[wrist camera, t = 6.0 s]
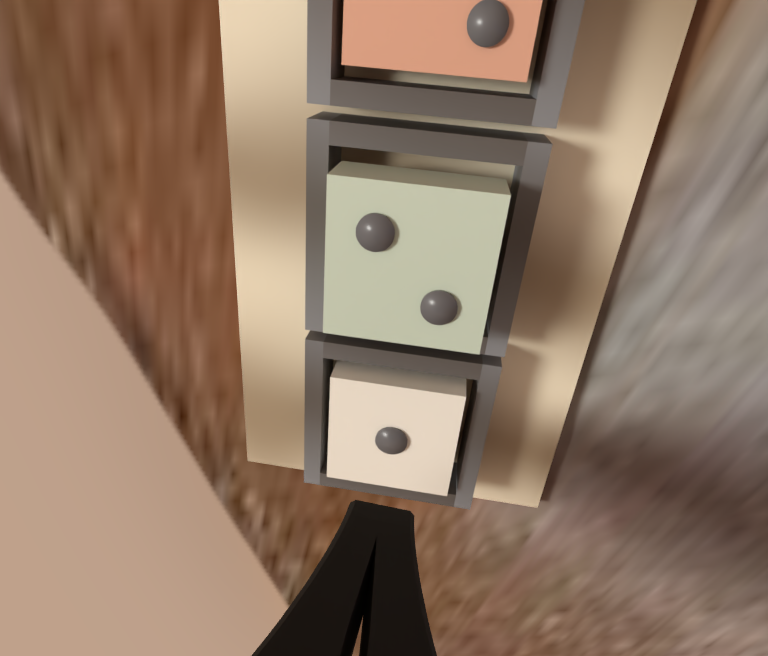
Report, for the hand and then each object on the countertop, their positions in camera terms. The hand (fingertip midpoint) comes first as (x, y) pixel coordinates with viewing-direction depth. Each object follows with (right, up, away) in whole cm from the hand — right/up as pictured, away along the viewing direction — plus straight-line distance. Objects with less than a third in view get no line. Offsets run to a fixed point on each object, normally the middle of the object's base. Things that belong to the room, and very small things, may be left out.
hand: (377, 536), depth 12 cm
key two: (+1, +7, +1) cm, 7 cm away
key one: (+1, +2, +4) cm, 5 cm away
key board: (+1, +7, +2) cm, 8 cm away
